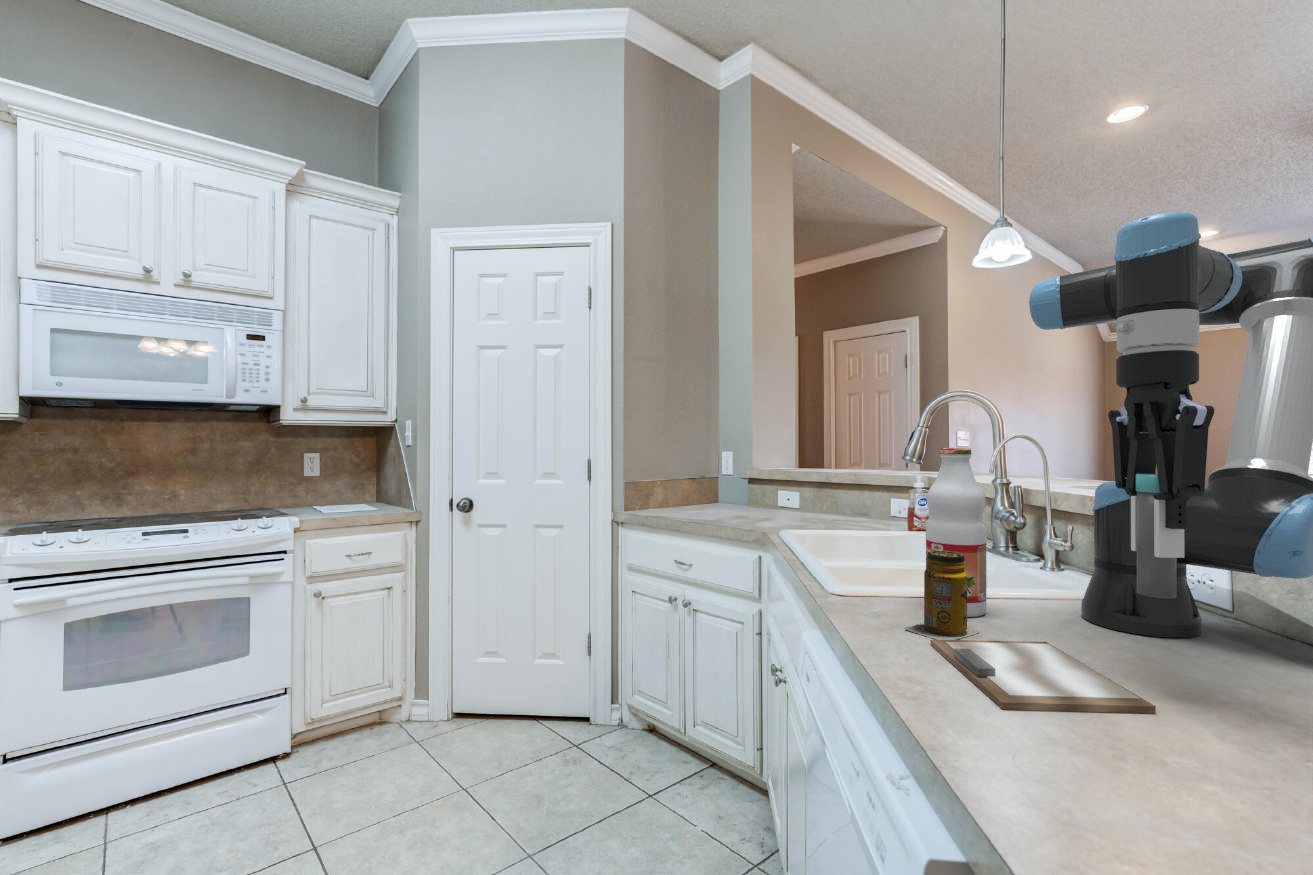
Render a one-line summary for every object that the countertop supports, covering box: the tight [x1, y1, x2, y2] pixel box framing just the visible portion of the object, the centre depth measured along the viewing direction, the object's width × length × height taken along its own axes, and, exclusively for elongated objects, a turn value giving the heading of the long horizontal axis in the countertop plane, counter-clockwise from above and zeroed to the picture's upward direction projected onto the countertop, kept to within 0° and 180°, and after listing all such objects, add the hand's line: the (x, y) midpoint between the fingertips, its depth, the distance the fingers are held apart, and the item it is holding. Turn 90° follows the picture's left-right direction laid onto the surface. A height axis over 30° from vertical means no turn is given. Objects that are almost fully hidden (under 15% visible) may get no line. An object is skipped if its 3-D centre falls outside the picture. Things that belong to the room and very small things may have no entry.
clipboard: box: [930, 639, 1157, 715], centre depth 78 cm, size 16×21×2 cm
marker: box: [1136, 473, 1177, 599], centre depth 72 cm, size 4×4×14 cm
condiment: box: [903, 551, 980, 640], centre depth 95 cm, size 7×8×12 cm
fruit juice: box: [925, 447, 987, 618], centre depth 106 cm, size 9×9×28 cm
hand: (1156, 553), depth 72 cm, fingers closed on marker, 3 cm apart
